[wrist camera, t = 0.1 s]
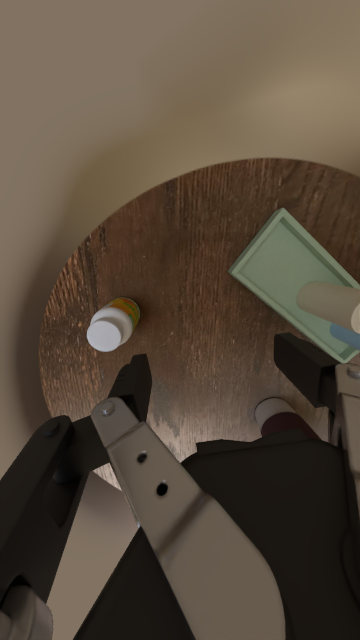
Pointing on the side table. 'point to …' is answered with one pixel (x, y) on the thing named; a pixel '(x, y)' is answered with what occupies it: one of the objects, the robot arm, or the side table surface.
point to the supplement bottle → (113, 324)
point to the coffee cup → (280, 418)
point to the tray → (292, 277)
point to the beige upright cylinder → (332, 303)
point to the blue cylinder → (345, 336)
